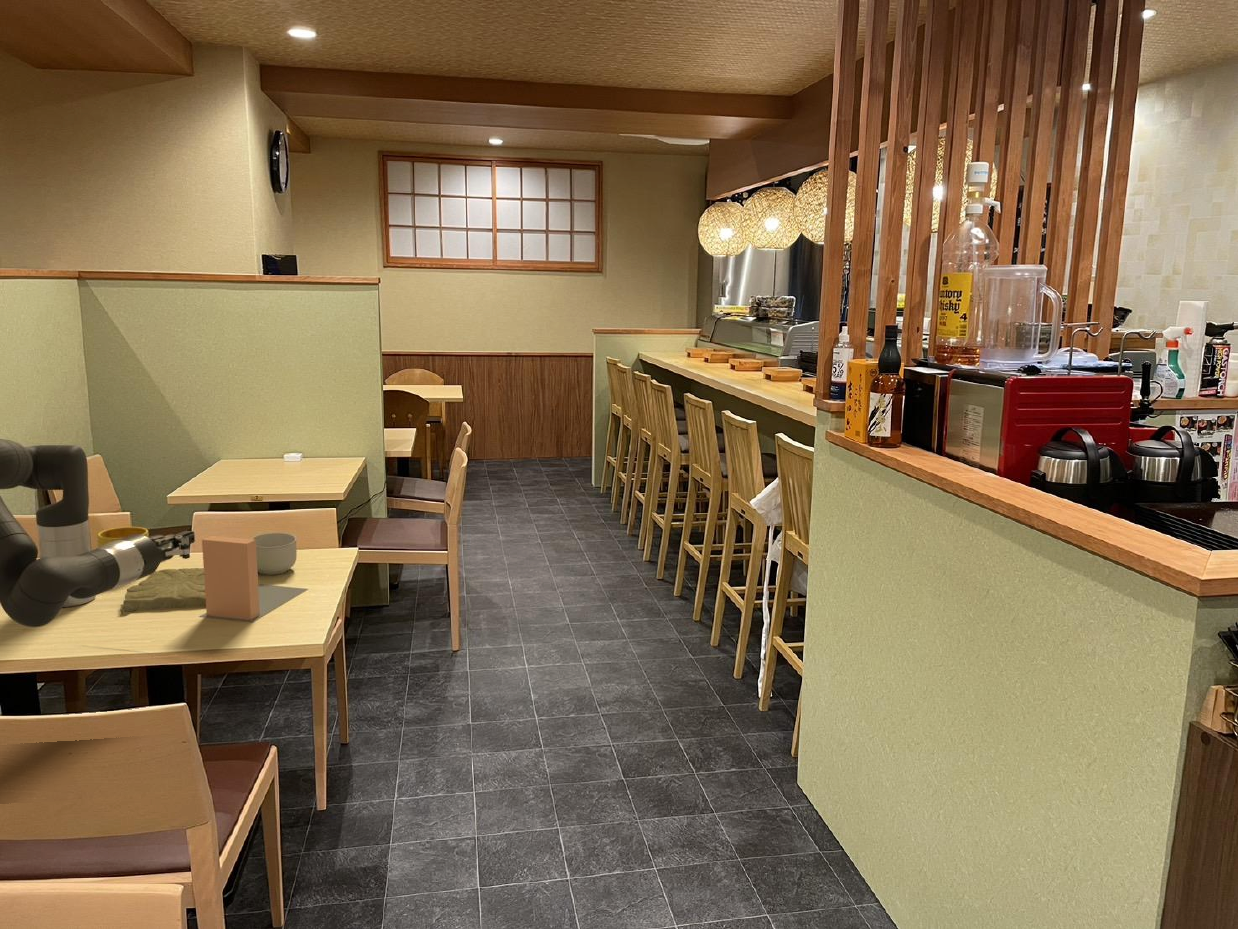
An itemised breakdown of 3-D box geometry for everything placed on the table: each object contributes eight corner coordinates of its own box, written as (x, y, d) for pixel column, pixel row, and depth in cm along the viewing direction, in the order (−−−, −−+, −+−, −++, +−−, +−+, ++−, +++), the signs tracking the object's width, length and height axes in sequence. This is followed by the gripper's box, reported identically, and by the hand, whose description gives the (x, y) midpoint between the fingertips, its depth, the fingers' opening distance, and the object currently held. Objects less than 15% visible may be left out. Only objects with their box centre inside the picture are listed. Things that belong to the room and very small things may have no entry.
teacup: (304, 564, 216) (303, 533, 215) (287, 579, 206) (286, 545, 204) (248, 562, 217) (246, 531, 215) (227, 577, 206) (225, 543, 204)
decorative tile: (231, 579, 206) (231, 565, 205) (217, 610, 187) (216, 594, 186) (142, 584, 201) (141, 569, 200) (118, 615, 182) (117, 599, 181)
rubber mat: (199, 618, 180) (199, 616, 180) (260, 585, 200) (259, 584, 200) (252, 624, 178) (252, 622, 178) (308, 590, 198) (308, 589, 198)
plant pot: (161, 568, 210) (158, 528, 209) (127, 581, 201) (124, 540, 199) (124, 563, 213) (121, 524, 211) (89, 576, 203) (86, 535, 201)
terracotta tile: (206, 615, 181) (201, 539, 178) (216, 610, 184) (211, 535, 181) (251, 620, 179) (246, 543, 176) (260, 614, 182) (256, 539, 179)
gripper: (90, 580, 151) (161, 552, 168) (158, 586, 149) (223, 558, 165) (86, 537, 150) (158, 514, 167) (155, 543, 147) (221, 519, 164)
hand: (191, 536), depth 166 cm, fingers closed
